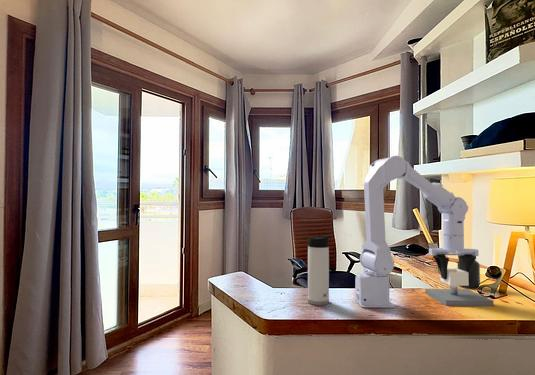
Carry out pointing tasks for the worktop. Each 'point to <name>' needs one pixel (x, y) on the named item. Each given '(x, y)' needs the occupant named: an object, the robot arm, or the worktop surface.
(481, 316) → the worktop surface
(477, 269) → the supplement bottle
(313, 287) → the travel mug
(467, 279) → the collar
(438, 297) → the shaft board
